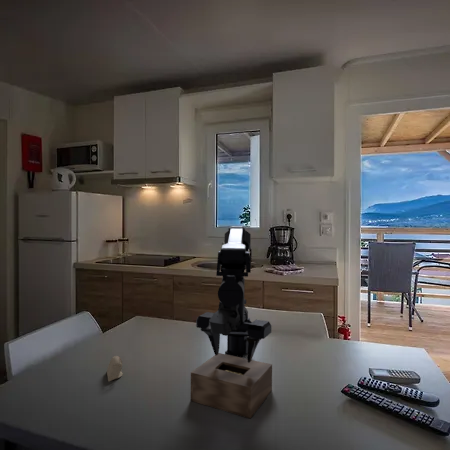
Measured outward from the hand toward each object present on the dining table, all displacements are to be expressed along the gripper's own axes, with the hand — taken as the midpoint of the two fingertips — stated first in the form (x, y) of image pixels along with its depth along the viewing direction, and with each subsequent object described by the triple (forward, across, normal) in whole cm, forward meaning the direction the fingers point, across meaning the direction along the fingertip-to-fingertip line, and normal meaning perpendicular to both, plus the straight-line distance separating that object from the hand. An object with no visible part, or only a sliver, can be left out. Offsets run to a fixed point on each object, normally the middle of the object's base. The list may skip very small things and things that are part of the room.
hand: (232, 358), depth 85 cm
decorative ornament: (+10, -34, -6) cm, 36 cm away
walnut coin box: (+10, 0, 0) cm, 10 cm away
